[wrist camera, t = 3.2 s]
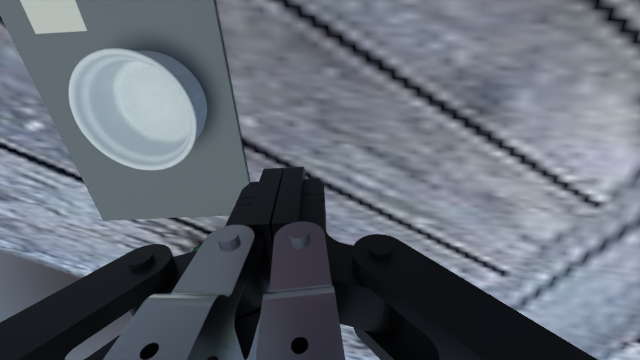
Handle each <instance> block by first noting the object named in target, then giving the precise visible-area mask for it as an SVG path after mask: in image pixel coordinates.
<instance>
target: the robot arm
mask: <svg viewBox="0 0 640 360" xmlns="http://www.w3.org/2000/svg"><path fill="white" fill-rule="evenodd" d="M269 285H270V288H269ZM268 291H269V292H268ZM128 311H130V312H131V314H132V316H133V318H132V319H131V321H130V322H129V323H128V325H127V327H126V328H125V329H124V330H123V332H122V333H121V334H120V335H119V336H117V337H116V338H115V339H113V340H112V341H110V342H109V343H108V344H107V345H105V346H103V347H102V348H101V349H99V350H98V351H96V352H95V353H93V354H92V355H91V356H89V357H88V358H86V359H84V360H254V359H255V356H256V359H255V360H345V356H344V349H343V342H342V336H341V329H340V324H344V325H347V326H351V327H354V330H355V333H356V334H357V336H358V337H359V338H360V339H361V340H362V341H363V342H364V343H365V344H366V345H367V346H368V347H369V348H370V349H371V350H372V351H373V352H374V353H375V354H376V355H377V356H378V357H379V358H380V359H381V360H597V359H595V358H594V357H592V356H590V355H589V354H587V353H585V352H584V351H582V350H580V349H579V348H577V347H575V346H574V345H572V344H570V343H569V342H567V341H566V340H564V339H562V338H561V337H559V336H557V335H556V334H554V333H552V332H551V331H549V330H547V329H546V328H544V327H542V326H541V325H539V324H537V323H536V322H534V321H532V320H531V319H529V318H527V317H526V316H524V315H522V314H521V313H519V312H517V311H516V310H514V309H512V308H511V307H509V306H507V305H506V304H504V303H502V302H501V301H499V300H497V299H496V298H494V297H492V296H491V295H489V294H487V293H486V292H484V291H482V290H481V289H479V288H478V287H476V286H474V285H473V284H471V283H469V282H468V281H466V280H464V279H463V278H461V277H459V276H458V275H456V274H454V273H453V272H451V271H449V270H448V269H446V268H444V267H443V266H441V265H439V264H438V263H436V262H434V261H433V260H431V259H429V258H428V257H426V256H424V255H423V254H421V253H419V252H418V251H416V250H414V249H413V248H411V247H409V246H408V245H406V244H404V243H403V242H401V241H399V240H398V239H396V238H394V237H391V236H387V235H381V234H374V235H368V236H365V237H363V238H361V239H359V240H358V241H357V242H356V243H355V245H354V246H353V245H348V244H343V243H340V242H338V241H336V240H334V239H332V238H331V237H330V236H329V235H328V234H327V232H326V211H325V195H324V185H323V184H322V182H321V181H320V180H319V179H305V169H304V167H290V168H272V169H264V170H263V173H262V175H261V178H260V181H259V182H250V183H249V184H248V185H247V186H246V187H244V188H243V189H242V191H241V193H240V195H239V197H238V199H237V202H236V204H235V206H234V208H233V210H232V213H231V215H230V217H229V219H228V221H227V224H226V226H225V227H222V228H219V229H217V230H215V231H214V232H212V233H211V234H210V235H209V236H207V238H206V239H205V240H204V242H203V243H202V245H201V247H200V248H199V250H197V251H194V252H190V253H187V254H183V255H179V256H175V257H173V255H172V252H171V250H170V248H169V247H167V246H165V245H161V244H152V245H147V246H143V247H140V248H137V249H135V250H133V251H131V252H129V253H127V254H125V255H124V256H122V257H120V258H118V259H116V260H114V261H113V262H111V263H109V264H107V265H105V266H103V267H102V268H100V269H98V270H96V271H94V272H92V273H91V274H89V275H87V276H85V277H83V278H81V279H80V280H78V281H76V282H74V283H72V284H70V285H69V286H67V287H65V288H63V289H61V290H60V291H57V292H56V293H54V294H52V295H50V296H48V297H46V298H45V299H43V300H41V301H39V302H37V303H36V304H34V305H32V306H30V307H28V308H26V309H24V310H23V311H21V312H19V313H17V314H15V315H13V316H12V317H10V318H8V319H6V320H4V321H2V322H1V323H0V360H65V359H64V358H65V357H66V355H67V354H68V353H69V352H70V351H71V350H72V349H73V348H74V347H76V346H78V345H79V344H81V343H82V342H84V341H85V340H87V339H88V338H90V337H91V336H92V335H94V334H95V333H97V332H98V331H100V330H101V329H103V328H104V327H106V326H107V325H109V324H110V323H112V322H113V321H114V320H116V319H118V318H119V317H121V316H122V315H124V314H125V313H127V312H128Z"/></svg>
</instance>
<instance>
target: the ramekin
mask: <svg viewBox="0 0 640 360" xmlns="http://www.w3.org/2000/svg"><path fill="white" fill-rule="evenodd" d="M69 103H70V107H71V110H72V114H73V116H74V119H75V121H76V123H77V125H78V126H79V128H80V130H81V131H82V133H83V134H84V135H85V136H86V138H87V139H88V140H89V141H90V142H91V143H92V144H93V145H94V146H95V147H96V148H97V149H99V150H100V151H101V152H102V153H104V154H105V155H106V156H108V157H110V158H111V159H113V160H115V161H117V162H119V163H121V164H123V165H126V166H129V167H132V168H135V169H141V170H162V169H167V168H169V167H172V166H174V165H176V164H178V163H179V162H181V161H182V160H183V159H184V158H185V157H186V156H187V155H188V154H189V153H190V151H191V150H192V148H193V146H194V144H195V141H196V140H197V138H198V137H199V135H200V134H201V132H202V130H203V128H204V125H205V121H206V117H207V101H206V97H205V94H204V91H203V89H202V87H201V85H200V83H199V82H198V80H197V79H196V78H195V76H194V75H193V74H192V73H191V71H190V70H188V69H187V68H186V67H185V66H184V65H183V64H181V63H180V62H179V61H177V60H175V59H174V58H172V57H170V56H168V55H165V54H162V53H159V52H153V51H146V50H143V51H133V50H129V49H121V48H109V49H103V50H99V51H96V52H93V53H91V54H89V55H88V56H86V57H84V58H83V59H82V60H81V61H80V62H79V63H78V64H77V66H76V67H75V69H74V70H73V73H72V75H71V78H70V82H69Z"/></svg>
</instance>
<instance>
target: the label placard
mask: <svg viewBox="0 0 640 360" xmlns="http://www.w3.org/2000/svg"><path fill="white" fill-rule="evenodd" d="M0 16H1V18H2V20H3V22H4V24H5V26H6V28H7V30H8V32H9V34H10V36H11V38H12V40H13V42H14V44H15V46H16V48H17V50H18V52H19V54H20V56H21V58H22V60H23V62H24V64H25V66H26V68H27V70H28V72H29V74H30V76H31V78H32V80H33V82H34V84H35V86H36V88H37V90H38V91H39V93H40V95H41V97H42V99H43V101H44V103H45V105H46V107H47V109H48V111H49V113H50V115H51V117H52V119H53V121H54V123H55V125H56V127H57V129H58V131H59V133H60V135H61V137H62V139H63V141H64V143H65V145H66V147H67V149H68V151H69V153H70V155H71V157H72V159H73V161H74V163H75V165H76V167H77V169H78V171H79V173H80V175H81V177H82V179H83V181H84V183H85V185H86V187H87V189H88V191H89V193H90V195H91V197H92V199H93V201H94V203H95V205H96V207H97V209H98V211H99V213H100V215H101V217H102V219H103V221H106V220H129V219H152V218H175V217H199V216H222V215H231V213H232V210H233V208H234V206H235V204H236V202H237V199H238V197H239V195H240V193H241V191H242V189H243V188H244V187H246V186H247V185H248V184H249V183H250V180H249V175H248V170H247V164H246V159H245V154H244V149H243V143H242V138H241V133H240V128H239V123H238V117H237V112H236V107H235V102H234V97H233V91H232V86H231V81H230V76H229V71H228V65H227V60H226V55H225V50H224V44H223V39H222V34H221V29H220V24H219V18H218V13H217V8H216V3H215V0H0ZM109 48H121V49H129V50H133V51H143V50H146V51H153V52H159V53H162V54H165V55H168V56H170V57H172V58H174V59H175V60H177V61H179V62H180V63H181V64H183V65H184V66H185V67H186V68H187V69H188V70H190V71H191V73H192V74H193V75H194V76H195V78H196V79H197V80H198V82H199V83H200V85H201V87H202V89H203V91H204V94H205V97H206V101H207V117H206V121H205V125H204V128H203V130H202V132H201V134H200V135H199V137H198V138H197V140H196V141H195V144H194V146H193V148H192V150H191V151H190V153H189V154H188V155H187V156H186V157H185V158H184V159H183V160H182V161H181V162H179V163H178V164H176V165H174V166H172V167H169V168H167V169H162V170H141V169H135V168H132V167H129V166H126V165H123V164H121V163H119V162H117V161H115V160H113V159H111V158H110V157H108V156H106V155H105V154H104V153H102V152H101V151H100V150H99V149H97V148H96V147H95V146H94V145H93V144H92V143H91V142H90V141H89V140H88V139H87V138H86V136H85V135H84V134H83V133H82V131H81V130H80V128H79V126H78V125H77V123H76V121H75V119H74V116H73V114H72V110H71V107H70V103H69V82H70V78H71V75H72V73H73V70H74V69H75V67H76V66H77V64H78V63H79V62H80V61H81V60H82V59H83V58H84V57H86V56H88V55H89V54H91V53H93V52H96V51H99V50H103V49H109Z"/></svg>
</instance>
